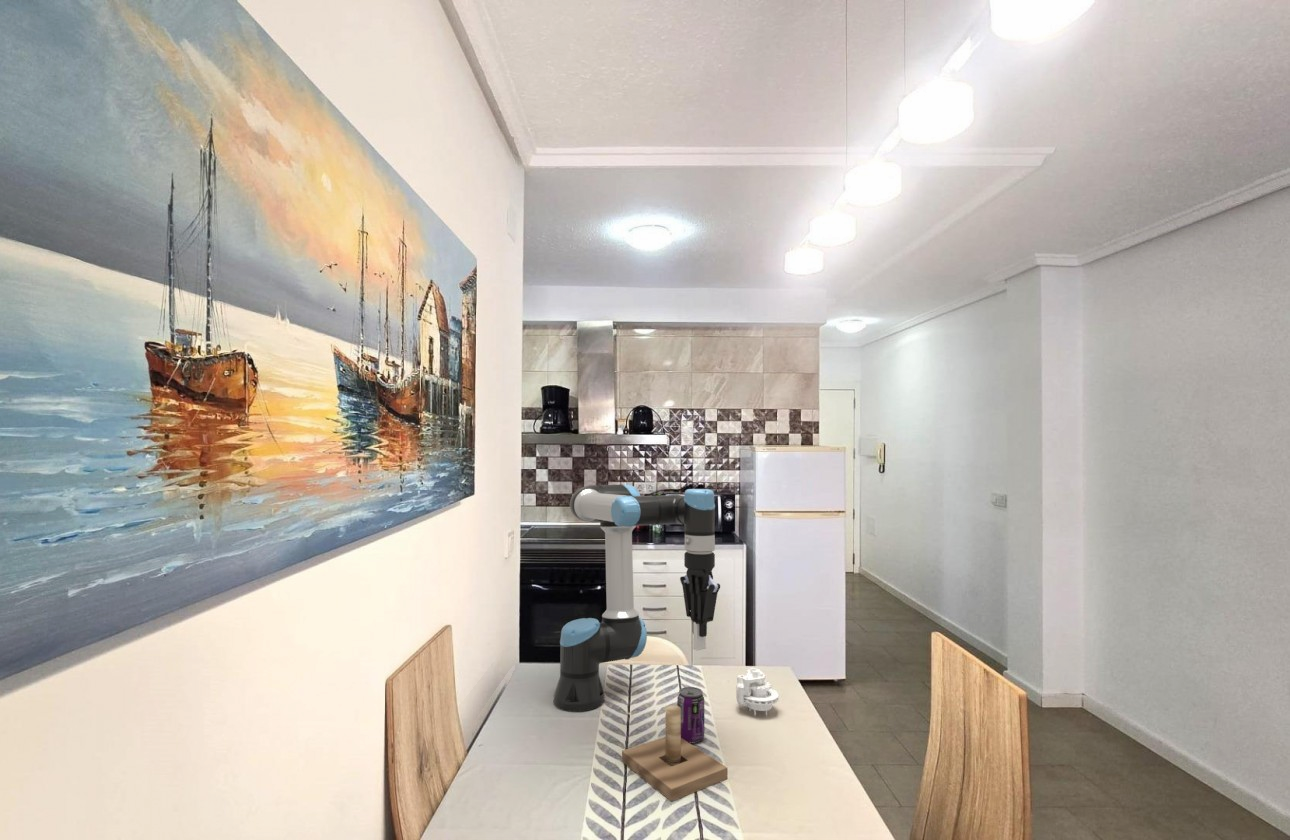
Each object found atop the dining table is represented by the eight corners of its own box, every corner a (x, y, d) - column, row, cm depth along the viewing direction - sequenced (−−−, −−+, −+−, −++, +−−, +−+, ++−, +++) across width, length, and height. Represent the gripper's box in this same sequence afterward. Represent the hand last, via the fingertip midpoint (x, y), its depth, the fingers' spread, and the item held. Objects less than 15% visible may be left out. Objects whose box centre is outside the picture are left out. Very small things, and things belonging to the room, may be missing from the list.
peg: (661, 768, 139) (662, 707, 140) (674, 764, 141) (674, 704, 142) (671, 775, 135) (671, 713, 136) (684, 771, 138) (684, 709, 139)
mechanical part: (776, 722, 163) (776, 679, 164) (733, 716, 167) (733, 673, 168) (780, 706, 174) (780, 665, 175) (740, 701, 178) (740, 661, 179)
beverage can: (702, 746, 150) (702, 697, 150) (675, 743, 151) (675, 695, 152) (705, 733, 157) (705, 687, 157) (679, 731, 158) (679, 685, 159)
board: (621, 761, 142) (621, 750, 142) (674, 743, 151) (674, 733, 151) (671, 801, 125) (671, 789, 125) (727, 778, 134) (727, 767, 134)
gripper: (671, 549, 149) (671, 644, 148) (704, 556, 139) (704, 659, 137) (694, 547, 153) (694, 639, 152) (728, 553, 143) (729, 653, 141)
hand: (699, 648), depth 144 cm, fingers closed
